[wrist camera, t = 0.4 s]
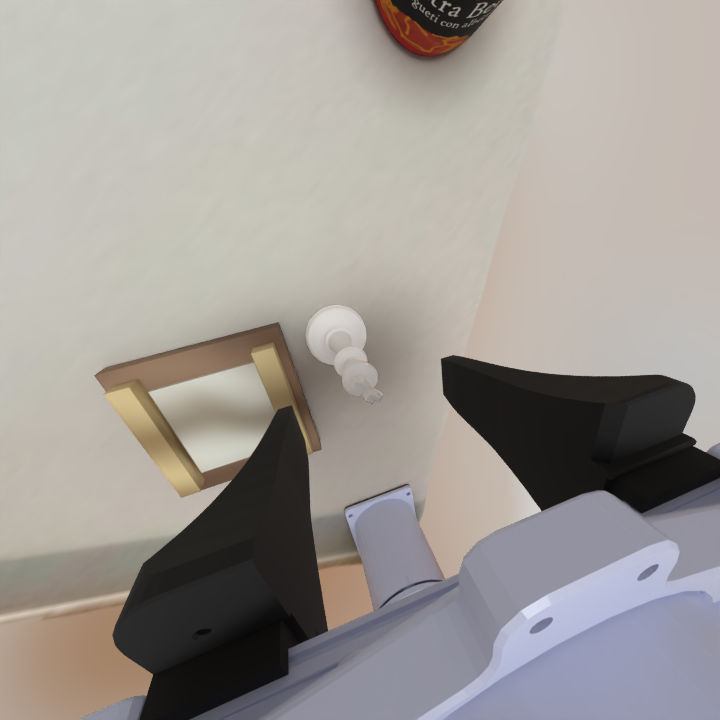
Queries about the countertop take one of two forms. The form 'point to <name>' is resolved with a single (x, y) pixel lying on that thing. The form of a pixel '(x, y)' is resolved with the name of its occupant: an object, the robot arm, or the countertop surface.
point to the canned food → (434, 22)
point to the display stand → (208, 404)
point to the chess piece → (343, 349)
